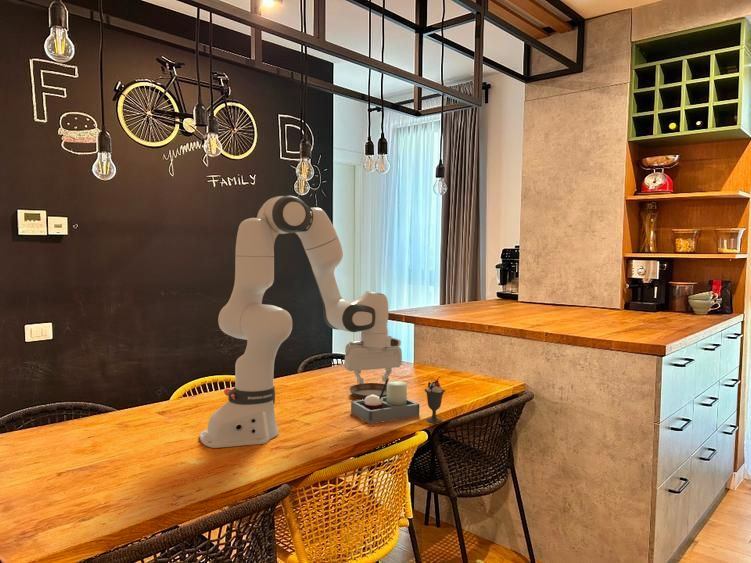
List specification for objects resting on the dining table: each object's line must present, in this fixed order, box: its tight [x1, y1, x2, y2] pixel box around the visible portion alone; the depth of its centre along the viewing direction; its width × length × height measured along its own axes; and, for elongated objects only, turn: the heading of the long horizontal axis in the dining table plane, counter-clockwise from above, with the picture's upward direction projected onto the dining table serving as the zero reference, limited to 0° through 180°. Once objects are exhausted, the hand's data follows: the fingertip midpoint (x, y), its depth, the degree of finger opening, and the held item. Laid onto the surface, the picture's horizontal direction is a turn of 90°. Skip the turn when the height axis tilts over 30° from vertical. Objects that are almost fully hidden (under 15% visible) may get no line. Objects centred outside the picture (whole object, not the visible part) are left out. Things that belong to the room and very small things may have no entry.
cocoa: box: [360, 377, 390, 410], centre depth 185 cm, size 10×6×12 cm, turn 51°
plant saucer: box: [348, 382, 387, 400], centre depth 212 cm, size 18×18×3 cm
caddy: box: [350, 380, 420, 425], centre depth 188 cm, size 19×13×10 cm
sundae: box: [424, 376, 446, 424], centre depth 182 cm, size 7×7×15 cm
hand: (372, 382), depth 185 cm, fingers open, 8 cm apart
